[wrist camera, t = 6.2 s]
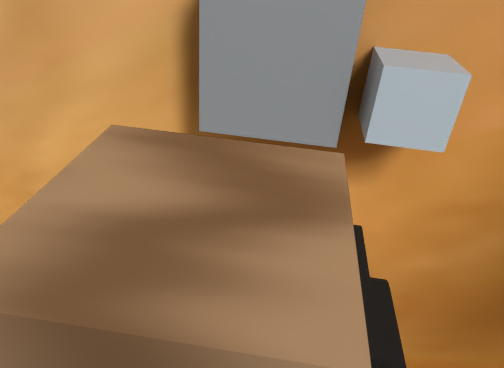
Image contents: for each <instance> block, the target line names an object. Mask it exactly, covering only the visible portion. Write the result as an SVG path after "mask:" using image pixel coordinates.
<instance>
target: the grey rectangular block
mask: <svg viewBox="0 0 504 368" xmlns="http://www.w3.org/2000/svg"><path fill="white" fill-rule="evenodd" d="M365 4H366V0H199V131H203V132H211V133H219V134H227V135H235V136H243V137H251V138H260V139H268V140H276V141H284V142H292V143H300V144H308V145H316V146H325V147H333V148H337V143H338V138H339V133H340V128H341V123H342V118H343V113H344V108H345V103H346V98H347V93H348V88H349V83H350V78H351V73H352V68H353V63H354V58H355V53H356V48H357V43H358V38H359V33H360V28H361V24H362V19H363V14H364V9H365Z"/></svg>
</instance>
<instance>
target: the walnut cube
mask: <svg viewBox="0 0 504 368" xmlns="http://www.w3.org/2000/svg"><path fill="white" fill-rule="evenodd" d="M0 368H371V360H370V352H369V345H368V337H367V329H366V321H365V313H364V305H363V298H362V290H361V282H360V274H359V266H358V258H357V251H356V243H355V235H354V227H353V219H352V212H351V204H350V196H349V188H348V180H347V172H346V165H345V157H344V153H336V152H328V151H320V150H312V149H304V148H296V147H288V146H280V145H272V144H264V143H256V142H248V141H240V140H231V139H223V138H215V137H207V136H199V135H191V134H183V133H175V132H167V131H159V130H151V129H143V128H135V127H127V126H119V125H111V126H110V127H109V128H108V129H107V130H105V131H104V132H103V133H102V134H101V135H100V136H99V137H98V138H97V139H96V140H94V141H93V142H92V143H91V144H90V145H89V146H88V147H87V148H86V149H85V150H83V151H82V152H81V153H80V154H79V155H78V156H77V157H76V158H75V159H74V160H72V161H71V162H70V163H69V164H68V165H67V166H66V167H65V168H64V169H63V170H61V171H60V172H59V173H58V174H57V175H56V176H55V177H54V178H53V179H52V180H50V181H49V182H48V183H47V184H46V185H45V186H44V187H43V188H42V189H41V190H39V191H38V192H37V193H36V194H35V195H34V196H33V197H32V198H31V199H30V200H28V201H27V202H26V203H25V204H24V205H23V206H22V207H21V208H20V209H19V210H17V211H16V212H15V213H14V214H13V215H12V216H11V217H10V218H9V219H8V220H6V221H5V222H4V223H3V224H2V225H1V226H0Z"/></svg>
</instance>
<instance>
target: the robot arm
mask: <svg viewBox="0 0 504 368" xmlns="http://www.w3.org/2000/svg"><path fill="white" fill-rule="evenodd" d="M353 227H354V235H355V243H356V251H357V258H358V266H359V274H360V282H361V290H362V298H363V305H364V313H365V321H366V329H367V337H368V345H369V352H370V360H371V368H406V363H405V359H404V354H403V349H402V344H401V339H400V335H399V330H398V325H397V320H396V315H395V311H394V306H393V301H392V296H391V292H390V287H389V284H388V282H387V280H384V279H377V278H371V277H370V276H369V269H368V263H367V257H366V250H365V244H364V237H363V231H362V227H361V226H359V225H353Z"/></svg>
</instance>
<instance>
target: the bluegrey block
mask: <svg viewBox="0 0 504 368" xmlns="http://www.w3.org/2000/svg"><path fill="white" fill-rule="evenodd" d="M471 77H472V75H471V74H470V73H469V72H468V71H467V70H465V69H464V68H463V67H462V66H461V65H460V64H458V63H457V62H456V61H455V60H454V59H453V58H451V57H450V56H449V55H447V54H438V53H429V52H419V51H410V50H401V49H392V48H382V47H374V48H373V52H372V56H371V61H370V65H369V69H368V74H367V78H366V83H365V87H364V91H363V96H362V100H361V105H360V109H359V113H358V116H359V120H360V124H361V128H362V132H363V136H364V140H365V143H373V144H381V145H389V146H396V147H404V148H412V149H420V150H428V151H436V152H444V150H445V148H446V145H447V142H448V139H449V137H450V134H451V131H452V128H453V126H454V123H455V120H456V118H457V115H458V112H459V109H460V107H461V104H462V101H463V98H464V96H465V93H466V90H467V87H468V85H469V82H470V79H471Z"/></svg>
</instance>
